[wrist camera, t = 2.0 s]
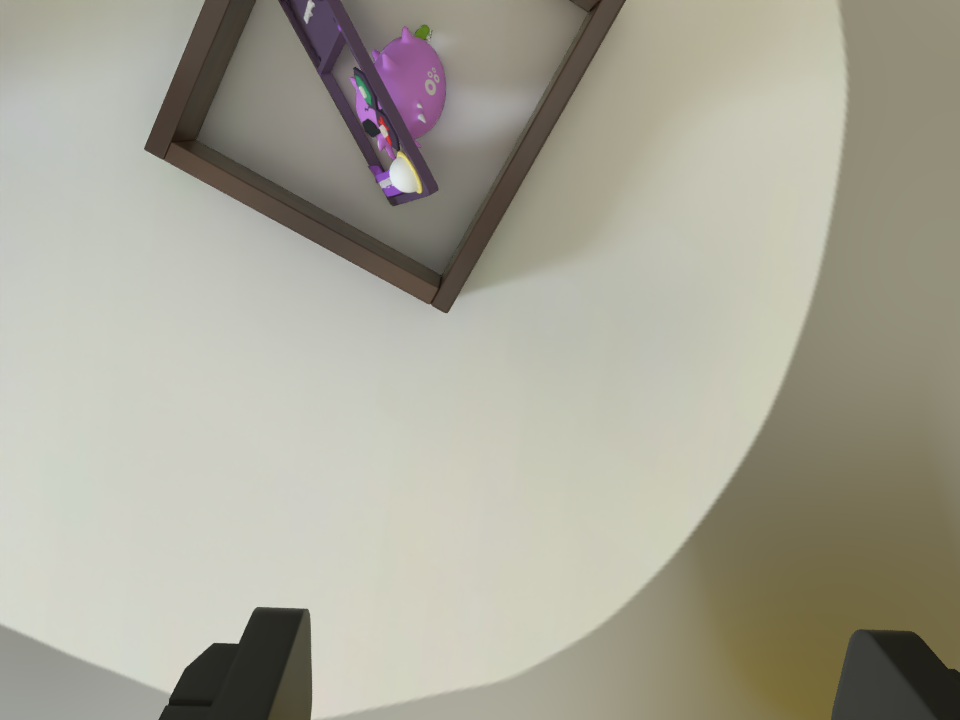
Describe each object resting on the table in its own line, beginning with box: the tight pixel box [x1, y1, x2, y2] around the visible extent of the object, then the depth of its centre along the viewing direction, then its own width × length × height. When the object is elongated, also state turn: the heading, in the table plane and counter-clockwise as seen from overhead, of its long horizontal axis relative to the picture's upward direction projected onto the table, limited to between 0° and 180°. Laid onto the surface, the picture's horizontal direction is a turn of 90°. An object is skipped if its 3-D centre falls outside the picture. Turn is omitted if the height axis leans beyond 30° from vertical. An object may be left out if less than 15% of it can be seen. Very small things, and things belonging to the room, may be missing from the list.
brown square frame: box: [144, 0, 626, 313], centre depth 28 cm, size 13×14×3 cm
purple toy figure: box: [279, 0, 446, 206], centre depth 27 cm, size 7×5×9 cm
